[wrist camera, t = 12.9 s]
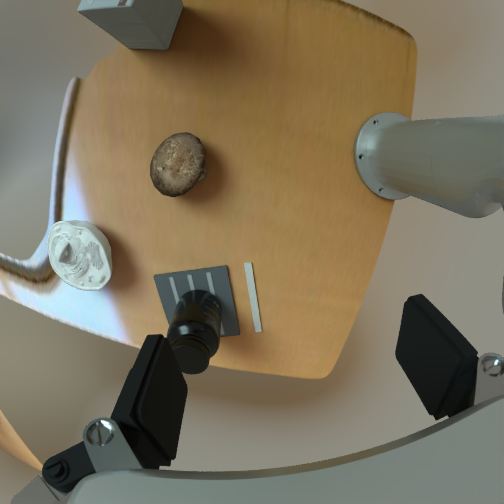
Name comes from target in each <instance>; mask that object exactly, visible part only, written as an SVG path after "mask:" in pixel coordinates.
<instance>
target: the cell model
mask: <svg viewBox="0 0 504 504" xmlns="http://www.w3.org/2000/svg"><path fill="white" fill-rule="evenodd" d="M47 250H48V254H49V259H50V263H51V266H52V268H53V269H54V271H55V272H56V273H57V274H58V275H59V276H60V277H61V278H62V280H63V281H64V282H66V283H67V284H69V285H71V286H73V287H75V288H77V289H80V290H87V291H88V290H101V289H102V288H103V287H104V286H105V285H106V284H107V283H108V282H109V280H110V278H111V275H112V259H111V247H110V245H109V242H108V240H107V238H106V236H105V235H104V234H103V233H102V232H101V231H100V230H99V229H97V228H96V227H95V226H94V225H93V224H91V223H89V222H86V221H77V220H73V221H60V222H57V223H55V224H54V225H52V227H51V228H50V231H49V235H48V240H47Z"/></svg>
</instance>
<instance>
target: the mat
mask: <svg viewBox="0 0 504 504" xmlns="http://www.w3.org/2000/svg"><path fill="white" fill-rule="evenodd" d="M154 280H155V283H156V286H157V290H158V293H159V296H160V299H161V302H162V306H163V309H164V312H165V315H166V318H167V320H168V323H169V326H170V323H171V320H172V317H173V314H174V312H175V309H176V306H177V304H178V301H179V299H180V298H181V296H182V295H183V294H185V293H186V292H188V291H191V290H196V289H200V290H205V291H208V292H210V293H212V294H213V295H214V296H216V297H217V299H218V300H219V302H220V304H221V307H222V319H221V331H220V337H225V336H235V335H240V331H239V326H238V321H237V316H236V311H235V306H234V301H233V296H232V291H231V286H230V280H229V275H228V270H227V265H226V266H218V267H211V268H203V269H196V270H188V271H181V272H173V273H165V274H158V275H154Z"/></svg>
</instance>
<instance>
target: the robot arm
mask: <svg viewBox="0 0 504 504" xmlns="http://www.w3.org/2000/svg"><path fill="white" fill-rule="evenodd" d="M373 121H374V122H375V124H374V123H373ZM359 155H360V156H361V158H360V159H359ZM354 160H355V165H356V169H357V171H358V174H359V176H360V178H361V179H362V181H363V183H364V184H365V185H366V186H367V187H368V188H369V189H370V190H371V191H372V192H374V193H375V194H377V195H379V196H381V197H384V198H386V199H392V200H397V199H403V198H406V197H409V196H410V195H411V196H414V197H417V198H420V199H422V200H425V201H427V202H430V203H433V204H435V205H438V206H440V207H443V208H445V209H448V210H450V211H453V212H455V213H458V214H460V215H463V216H466V217H470V218H482V217H485V216H488V215H490V214H492V213H494V212H495V211H497V210H498V209H500V208H501V207H503V210H504V115H497V116H487V117H463V118H446V119H445V118H444V119H428V120H416V121H412V120H410V119H409V118H407V117H406V116H403V115H401V114H398V113H393V112H387V113H381V114H377V115H375V116H373V117H371V118H370V119H368V120H367V121H366V122H365V123H364V124H363V125H362V127H361V128H360V130H359V132H358V134H357V137H356V140H355V145H354ZM379 189H380V191H379ZM502 307H503V313H504V278H503V292H502ZM477 354H478V352H477V351H476V349H475V348H474V347H473V346H472V345H471V344H470V343H469V342H468V341H467V339H466V338H465V337H464V336H463V335H462V334H461V333H460V332H459V331H458V330H457V329H456V328H455V327H454V326H453V324H451V322H450V321H449V320H448V319H447V318H446V317H445V316H444V315H443V314H442V313H441V312H440V311H439V310H438V309H437V308H436V307H435V306H434V305H433V304H432V303H431V302H430V301H429V300H428V299H427V298H426V297H425V296H424V295H422V294H419V295H415V296H410V297H409V298H408V299H407V301H406V302H405V303H404V308H403V314H402V320H401V326H400V331H399V336H398V341H397V346H396V351H395V355H396V359H397V361H398V362H399V364H400V365H401V367H402V369H403V370H404V372H405V374H406V375H407V377H408V379H409V380H410V382H411V384H412V385H413V387H414V389H415V390H416V392H417V394H418V395H419V397H420V399H421V401H422V403H423V404H424V406H425V408H426V410H427V411H428V413H429V414H430V415H433V416H434V418H435V420H439V419H441V418H443V417H445V416H447V415H448V417H449V418H448V419H446V420H444V421H442V422H439V423H437V424H435V425H433V426H431V427H428V428H426V429H423V430H421V431H419V432H416V433H414V434H411V435H409V436H406V437H403V438H401V439H398V440H395V441H392V442H389V443H386V444H384V445H380V446H377V447H374V448H371V449H367V450H364V451H360V452H357V453H353V454H349V455H345V456H341V457H337V458H332V459H328V460H323V461H318V462H313V463H307V464H301V465H296V466H288V467H281V468H271V469H262V470H248V471H224V472H198V471H173V470H159V467H160V466H170V465H171V460H174V459H175V458H176V453H177V447H178V441H179V435H180V429H181V424H182V418H183V413H184V407H185V402H186V397H187V390H188V389H187V384H186V382H185V380H184V377H183V375H182V372H181V370H180V367H179V365H178V362H177V360H176V357H175V355H174V352H173V350H172V347H171V345H170V342H169V340H168V338H164V336H163V335H162V334H156V335H147V337H146V339H145V341H144V343H143V345H142V348H141V350H140V352H139V354H138V357H137V359H136V361H135V364H134V366H133V368H132V369H131V370H130V372H129V374H128V376H127V379H126V381H125V383H124V386H123V388H122V391H121V393H120V395H119V398H118V400H117V403H116V405H115V407H114V410H113V412H112V415H111V418H106V417H105V418H104V417H102V418H97V419H94V420H93V421H91V422H89V424H88V425H87V426H86V427H85V429H84V431H83V441H82V442H80V443H79V444H77V445H75V446H73V447H71V448H69V449H67V450H65V451H63V452H61V453H59V454H57V455H55V456H52V457H51V458H49V459H48V460H47V461H46V462H45V463H44V466H43V468H42V475H43V476H42V477H40V476H37V477H36V478H34V479H33V480H32V481H31V482H30V483H29V484H28V485H27V486H26V487H24V488H23V489H22V490H21V491H20V492H19V493H18V494H16V495H15V496H14V497H13V499H12V500H11V504H504V358H503V357H502V356H501V355H499V354H496V353H486V354H484V355H482V356H481V357H480V358H478V357H477Z"/></svg>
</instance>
